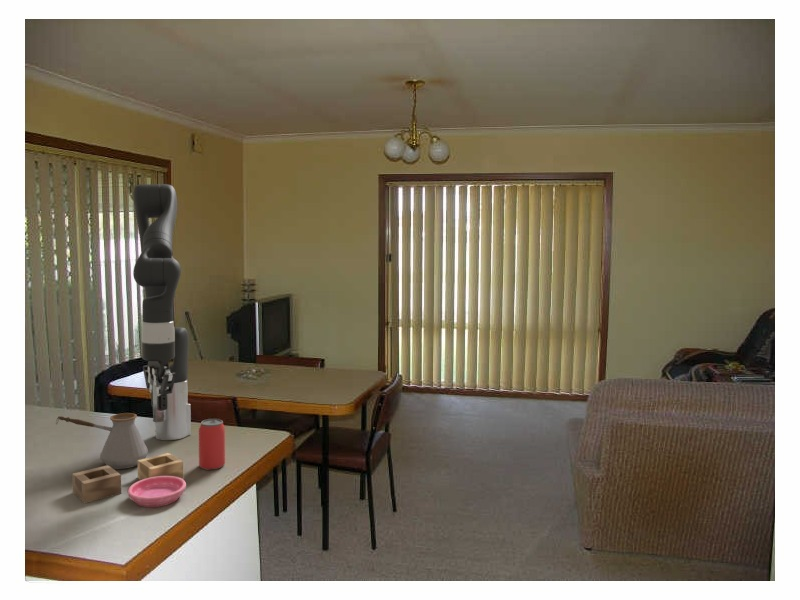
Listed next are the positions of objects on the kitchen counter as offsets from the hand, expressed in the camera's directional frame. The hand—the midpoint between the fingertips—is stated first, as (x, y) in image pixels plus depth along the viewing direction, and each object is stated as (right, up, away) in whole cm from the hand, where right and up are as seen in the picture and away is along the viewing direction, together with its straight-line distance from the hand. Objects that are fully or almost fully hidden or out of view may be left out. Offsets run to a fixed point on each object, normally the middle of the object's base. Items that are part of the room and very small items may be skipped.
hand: (159, 408), depth 149 cm
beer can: (+10, -17, +11) cm, 23 cm away
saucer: (+3, -20, -9) cm, 22 cm away
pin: (0, -3, 0) cm, 3 cm away
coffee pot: (-18, -17, +8) cm, 26 cm away
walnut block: (-12, -18, -8) cm, 23 cm away
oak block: (0, -18, +2) cm, 18 cm away
